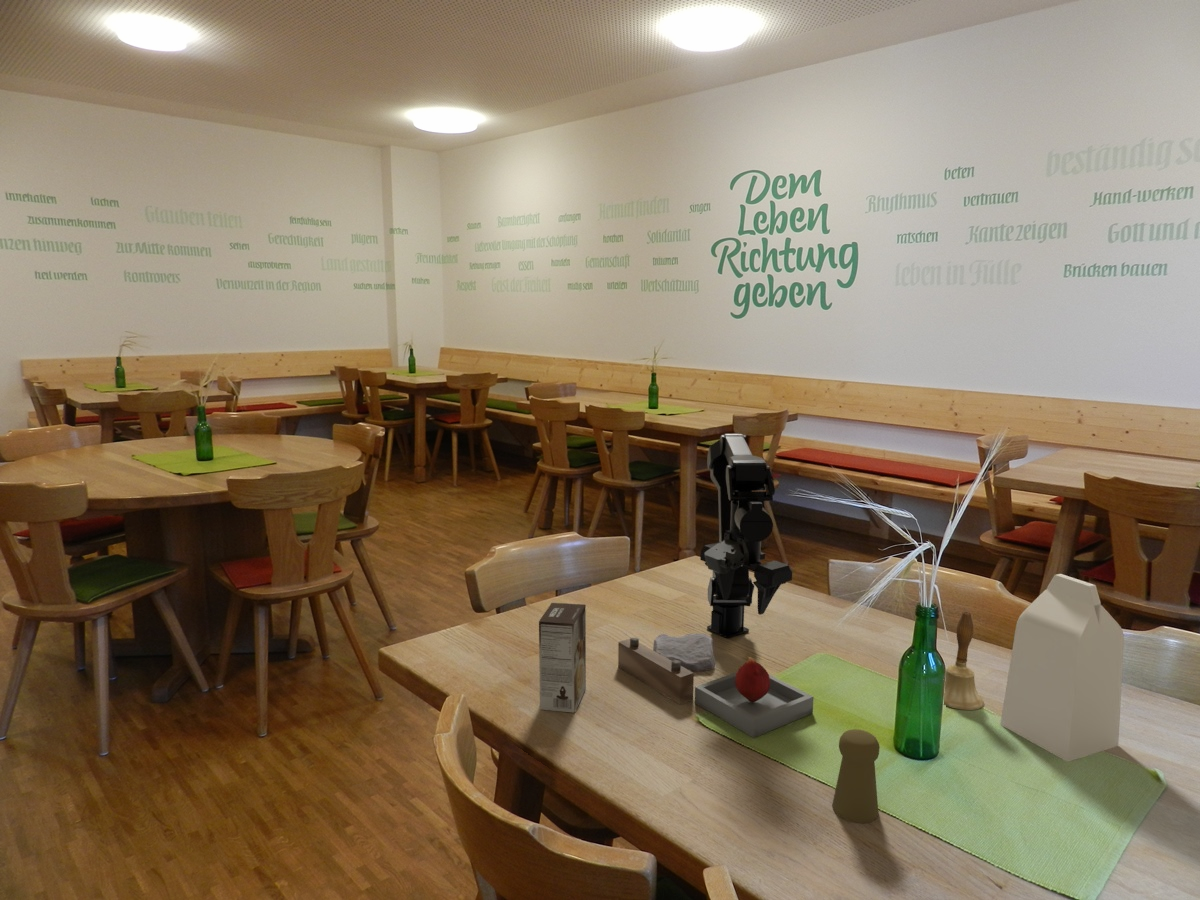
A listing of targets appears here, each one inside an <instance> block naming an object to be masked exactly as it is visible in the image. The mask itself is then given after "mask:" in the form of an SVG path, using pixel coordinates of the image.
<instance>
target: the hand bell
mask: <svg viewBox="0 0 1200 900" xmlns="http://www.w3.org/2000/svg"><path fill="white" fill-rule="evenodd" d="M973 635H974V623H973V619H972V614H971V612H970V611H963V612H962V614H961V616H960V618H959V619H958V623H957V625H956V641H957V645H958V647H957V653H956V658H955V659H956V660H955V664H953V665H949V666H947V667H946V670H945V674H946V681H945V693H944V704H943V706H946V707H948V708H951V709H952V708H953V709H956V710H962V711H964V710H965V711H975V710H980V709H981V708H983V707H984V704H985V701H984V700H983V699H984V698H983V697H982V696H981V695H980V694H979V693H978V690H977V687H976V682H975V681H976V680H975V672H974V671H973V670H972V669H971V668H969V667H968V666H967V662H968V651H969V650H968V649H969V646H970V644H971V642H972V639H973Z"/></svg>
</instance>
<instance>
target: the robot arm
mask: <svg viewBox="0 0 1200 900" xmlns="http://www.w3.org/2000/svg"><path fill="white" fill-rule="evenodd" d="M706 456H707V458H706V459H707V461H706V464H707V465H706V466H707V470H709V472H710V473H709V475H710V480H711V481H712V483H713V484H714V486H715V487H716V489H717V495H718V496H717V497H718V498H717V499H718V502H717V503H718V538H719V541H717V542H715V543H711V544H710V543H709V544H705V545H703V547H702V549H700V557H699V559H700V561H701V562H704V564H705V566H706V567H707V568H708V570H710V571H712V577H710V578H709V582H708V586H707V601H708V604H709V606H710V607H712V610H711V612H710V613H711V619H710V621H711V622H710V625H707V626H706V629H707V630H709V631H711V632H714V633H715V634H718V635H719V636H721V637H724V638H726V639H729V638H733V637H735V636H740V635H742V634H745V633H749V631H750V628H747V627H745V626H744V625H745V624H744V623H745V607H751V604H753V595H754V590H755V587H756V589H757V614H758V615H760V616H761V615H763V614H765V611H766V610H767V608H768V607H769V604H770V603H771V601H772V600H773V598H774V597H775V594H776V593H777V591H779V589H780V586H781V585H783V584H784V585H785V584H786V583H788V582H791V581H792V580H793V569H792V567H791V566H790V565H789V564H786V563H783V562H781V561H777V560H772V561H768V562H764V563H763V562H761V561H762V560H765V559H766V553H764V552H762V551H761V549H762V548H761V547H762V541H764V540H766V539H768V537H769V536H770V535H771V534H772V531H773V529H774V523H773V518H772V517H771V516H770V514H769V512H767V510H766V509H765V502H773V500H774V499H773V498H774V497H773V496H774V495H775V493H776V490H775V489H776V488H775V483H774V475H773V471H771V467H770V466H769V465H768V464H767V462H766V460H765V459H764V458H762V457H760V456H757V455H754V454H753V453H752V451H751V449H750V446H749V444H748V443H747V435H746V434H743V433H723V434H721V435H720V437H719V439H718V440H717V441H715V442H714V443H712V444H711V445H710V446H709V448H708V451H707V455H706ZM749 571H751V572H753V577H754V579H755V581H753V580H752V577H750V572H749Z"/></svg>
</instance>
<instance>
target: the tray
mask: <svg viewBox="0 0 1200 900" xmlns="http://www.w3.org/2000/svg"><path fill="white" fill-rule="evenodd" d="M736 673H737V672H733V673H730V674H727V675H724V676H722V677H719V678H716V679H713V680H710V681H707V682H705V683H702V684H699V685H697V686H694V703H695V705H698V706H699V707H701V708H703V709H704V710H706V711H708V712H710V713H711V714H713V715H714V716H716V717H718V718H719V719H720V720H723V721H724V722H726V723H727V724H730V725H731V726H733V727H734V728H736V729H738V730H739V731H740V732H743V733H744V734H746V735H748V736H750V737H751V738H753V739H754V738H757V737H759V736H761V735H765V734H766V733H769V732H771V731H774V730H776V729H778V728H781V727H783V726H786V725H788V724H790V723H793V722H795V721H797V720H799V719H802V718H804V717H807V716H809V715H811V714H813V712H814V697H815V696H813V695H811V694H809V693H807V692H805V691H803V690H801V689H799V688H797V687H796V686H793V685H791V684H789V683H787V682H785V681H783V680H782V679H779V678H777V677H775V676H773V675H771V674H769V673H768V675H769V678H770V687H769V691H768V692H767V694H766V695H765V696H764V697H762V698H761V699H759V700H758V701H756V702H750V701H749V700H747V699H746V698H745V697H744V696H743V695H741V694H740V693H739V691H738V689H737V688H736V685H735V678H736Z"/></svg>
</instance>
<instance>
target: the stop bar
mask: <svg viewBox="0 0 1200 900" xmlns="http://www.w3.org/2000/svg"><path fill="white" fill-rule="evenodd" d="M639 641H640V640H639V638H638V637H631V638H628V639H624V640H621V641H618V650H617V651H618V654H617V655H618V657H617V658H618V660H617V661H618V663H617V664H618V667H617V668H619V669H621V670H622V671H625V672H626V673H628V674H629V675H631V676H633V677H634V678H636V679H638V680H639V681H641V682H642V683H644V684H646V685H647V686H649V687H650V688H652V689H654V690H655V691H657V692H659V693H661V694H662V695H664V696H665V697H666V698H668V699H670V700H672V701H674V702H675V703H677V704H679V705H682V704H685V703H688V702H691V701H693V700H694V680H695V679H694V678H695V677H694V675H695V673H694V672H693V671H692V670H688V669H686V668H684V667H682V666H681V662H680V661H677V660H674V661H671V660H669V659H668V658H666V657H664V656H662V655H660V654H659V653H657V652H655V651H653V649H651V648H650V647H648V646H646V645H644V644H642V643H641V642H639Z"/></svg>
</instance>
